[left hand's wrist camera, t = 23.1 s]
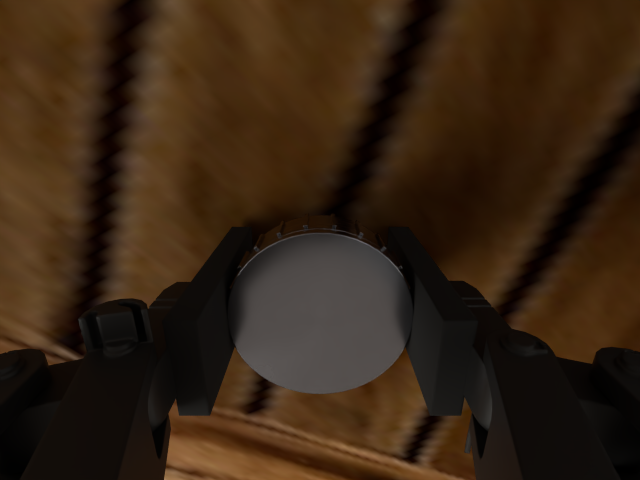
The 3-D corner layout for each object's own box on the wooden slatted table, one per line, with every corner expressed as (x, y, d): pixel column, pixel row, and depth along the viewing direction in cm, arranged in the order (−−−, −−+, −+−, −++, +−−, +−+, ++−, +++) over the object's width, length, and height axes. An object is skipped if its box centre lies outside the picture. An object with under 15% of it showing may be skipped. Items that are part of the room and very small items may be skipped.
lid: (418, 339, 12) (432, 372, 11) (269, 375, 13) (261, 412, 11) (382, 190, 11) (394, 205, 9) (210, 240, 11) (192, 262, 10)
